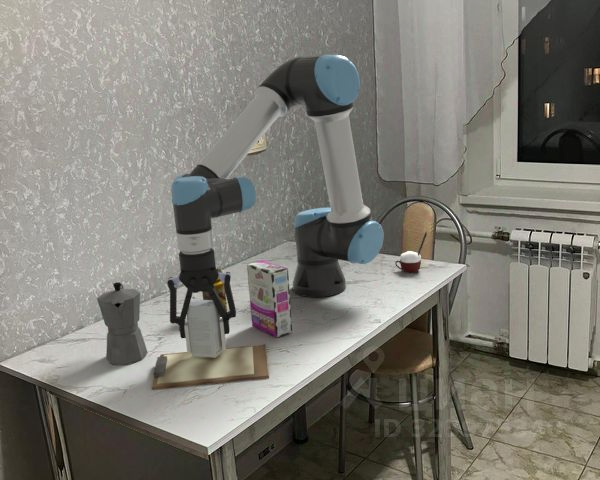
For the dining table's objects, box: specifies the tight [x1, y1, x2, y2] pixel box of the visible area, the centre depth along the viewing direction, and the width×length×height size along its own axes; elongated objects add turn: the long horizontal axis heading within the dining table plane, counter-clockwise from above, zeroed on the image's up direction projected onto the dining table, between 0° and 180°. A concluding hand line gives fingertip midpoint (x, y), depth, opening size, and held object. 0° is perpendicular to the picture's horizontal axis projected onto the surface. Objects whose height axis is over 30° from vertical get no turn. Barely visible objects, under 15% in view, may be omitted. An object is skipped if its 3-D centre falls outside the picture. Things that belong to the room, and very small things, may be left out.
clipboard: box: [151, 343, 270, 391], centre depth 143 cm, size 24×16×2 cm, turn 95°
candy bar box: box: [246, 260, 293, 338], centre depth 160 cm, size 11×5×16 cm, turn 37°
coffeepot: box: [96, 282, 149, 366], centre depth 150 cm, size 15×9×18 cm, turn 13°
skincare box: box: [186, 299, 223, 358], centre depth 145 cm, size 6×4×12 cm
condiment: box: [201, 268, 228, 317], centre depth 173 cm, size 7×8×12 cm
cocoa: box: [394, 231, 428, 274], centre depth 197 cm, size 10×6×12 cm, turn 57°
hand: (206, 348), depth 146 cm, fingers closed on skincare box, 7 cm apart
